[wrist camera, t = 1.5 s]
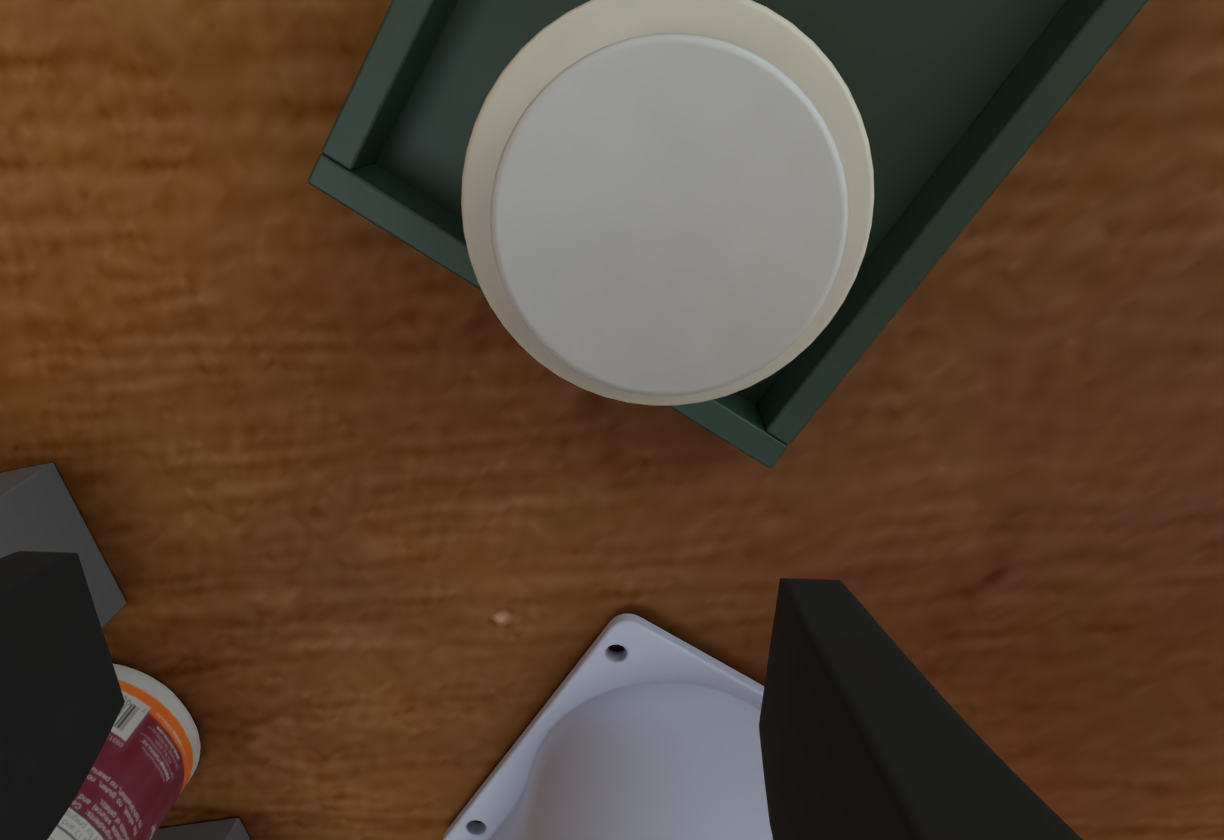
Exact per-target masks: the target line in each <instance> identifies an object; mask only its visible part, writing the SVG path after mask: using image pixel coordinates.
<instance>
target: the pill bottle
mask: <svg viewBox="0 0 1224 840" xmlns="http://www.w3.org/2000/svg"><path fill="white" fill-rule="evenodd" d="M113 666H114V669H115V672H116V675H117V679H118V682H119V685H120V688H121V691H122V694H123V697H124V701H125V703H124V705H123V707H122V709H121V711H120V713H119V715H118V717H117V719H116V721H115V723H114V725H113V727H112V729H111V731H110V733H109V735H108V737H107V739H106V742H105V744H104V746H103V748H102V750H101V752H100V754H99V756H98V757H97V759H96V761H95V763H94V765H93V767H92V768H91V770H90V772H89V774H88V776H87V778H86V779H85V781H84V783H83V785H82V787H81V789H80V791H79V792H78V794H77V796H76V798H75V799H74V801H73V802H72V804H71V805H70V807H69V808H68V810H67V811H66V813H65V814H64V816H63V817H62V819H61V820H60V822H59V823H58V825H57V826H56V828H55V829H54V831H53V832H52V834H51V835H50V837H49V838H48V840H151V839H152V837H153V835H154V834H155V832H156V831H157V830H158V828H159V827H160V825H161V823H162V822H163V820H164V819H165V817H166V815H167V814H168V812H169V811H170V810H171V808H172V806H173V804H174V803H175V801H176V800H177V798H178V797H179V796H180V794H181V792H182V791H183V789H184V787H185V786H186V784H187V783H188V782H189V780H190V779H191V777H192V775H193V774H194V772H195V770H196V768H197V765H198V762H199V757H200V750H201V745H200V740H199V734H198V730H197V727H196V725H195V723H194V721H193V719H192V717H191V715H190V714H189V712H188V710H187V709H186V708H185V706H184V705H183V704H182V702H181V701H180V700H179V699H178V698H177V696H176V695H175V694H174V693H173V692H172V691H171V690H169V689H168V688H167V687H166V686H165V685H163V684H162V683H160V682H159V681H157V680H156V679H154V678H152V677H151V676H149V675H147V674H145V673H143V672H140V671H138V670H135V669H133V668H130V667H126V666H123V665H119V664H114V663H113Z"/></svg>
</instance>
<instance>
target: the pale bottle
mask: <svg viewBox="0 0 1224 840" xmlns="http://www.w3.org/2000/svg"><path fill="white" fill-rule="evenodd" d="M873 206H874V170H873V164H872V158H871V151H870V145H869V140H868V137H867V134H866V131H865V127H864V124H863V121H862V117H861V114H860V112H859V110H858V108H857V106H856V103H855V101H854V99H853V97H852V95H851V93H850V90H849V88H848V87H847V85H846V84H845V82H844V81H843V79H842V77H841V76H840V74H839V73H838V71H837V70H836V68H835V67H834V65H833V64H832V62H831V61H830V60H829V59H828V58H827V57H826V56H825V54H824V53H823V52H822V51H821V50H820V49H819V47H818V46H817V45H816V44H815V43H814V42H813V41H812V40H811V39H810V38H809V37H807V36H806V35H805V34H804V33H803V32H802V31H800V30H799V29H798V28H797V27H796V26H795V25H794V24H792V23H791V22H790V21H788V20H786V19H785V18H783V17H782V16H780V15H778V14H777V13H775V12H774V11H772V10H771V9H769V8H767V7H766V6H763V5H761V4H759V3H757V2H754V1H752V0H590V1H588V2H586V3H584V4H582V5H580V6H578V7H576V8H574V9H572V10H570V11H568V12H567V13H565V14H564V15H562V16H561V17H559V18H558V19H556V20H555V21H553V22H552V23H551V24H549V25H548V26H546V27H545V28H543V29H542V30H541V31H540V32H539V33H538V34H537V35H536V36H534V37H533V38H532V39H531V40H530V41H529V42H528V43H527V44H526V45H525V46H524V47H522V48H521V49H520V51H519V52H518V53H517V54H516V55H515V57H514V58H513V59H512V60H511V61H510V63H509V64H508V65H507V66H506V67H505V69H504V70H503V71H502V73H501V74H500V76H499V77H498V79H497V81H496V82H495V84H494V85H493V87H492V89H491V90H490V92H489V93H488V95H487V97H486V99H485V101H484V104H483V106H482V108H481V110H480V112H479V115H478V117H477V119H476V121H475V124H474V127H473V131H472V134H471V137H470V140H469V144H468V147H467V151H466V157H465V163H464V169H463V175H462V195H461V208H462V220H463V231H464V236H465V240H466V245H467V249H468V254H469V258H470V261H471V264H472V267H473V269H474V272H475V275H476V278H477V281H478V283H479V285H480V287H481V289H482V291H483V293H484V295H485V297H486V299H487V301H488V303H489V305H490V307H491V308H492V310H493V311H494V313H495V314H496V316H497V317H498V319H499V320H500V322H501V323H502V325H503V326H504V327H505V329H506V330H507V331H508V332H509V333H510V334H511V335H512V337H513V338H514V339H515V340H516V341H517V342H518V344H519V345H520V346H521V347H522V348H524V349H525V350H526V351H527V352H528V353H529V354H530V355H531V356H532V357H534V358H535V359H536V360H537V361H538V362H539V363H541V364H542V365H543V366H545V367H546V368H548V369H549V370H551V371H552V372H553V373H555V374H556V375H558V376H559V377H561V378H563V379H565V380H567V381H569V382H570V383H572V384H574V385H576V386H578V387H580V388H582V389H585V390H587V391H590V392H593V393H595V394H598V395H601V396H603V397H607V398H611V399H615V400H619V401H623V402H627V403H635V404H644V405H652V406H653V405H684V404H692V403H700V402H704V401H708V400H712V399H716V398H720V397H724V396H727V395H730V394H732V393H735V392H738V391H740V390H743V389H745V388H748V387H750V386H752V385H754V384H756V383H758V382H760V381H761V380H763V379H765V378H767V377H769V376H771V375H772V374H774V373H775V372H777V371H778V370H780V369H781V368H782V367H784V366H785V365H787V364H788V363H790V362H791V361H792V360H793V359H795V358H796V357H797V356H798V355H799V354H800V353H801V352H802V351H804V350H805V349H806V348H807V347H808V346H809V345H810V344H811V343H812V342H813V341H814V340H815V339H816V338H817V337H818V335H819V334H820V333H821V332H822V331H823V330H824V329H825V327H826V326H827V325H828V324H829V323H830V321H831V320H832V318H833V317H834V315H835V314H836V312H837V311H838V309H839V308H840V306H841V305H842V304H843V302H844V300H845V298H846V296H847V294H848V292H849V291H850V289H851V287H852V285H853V283H854V281H855V279H856V277H857V274H858V271H859V268H860V266H861V263H862V260H863V258H864V255H865V252H866V248H867V243H868V239H869V235H870V230H871V226H872V216H873Z"/></svg>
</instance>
